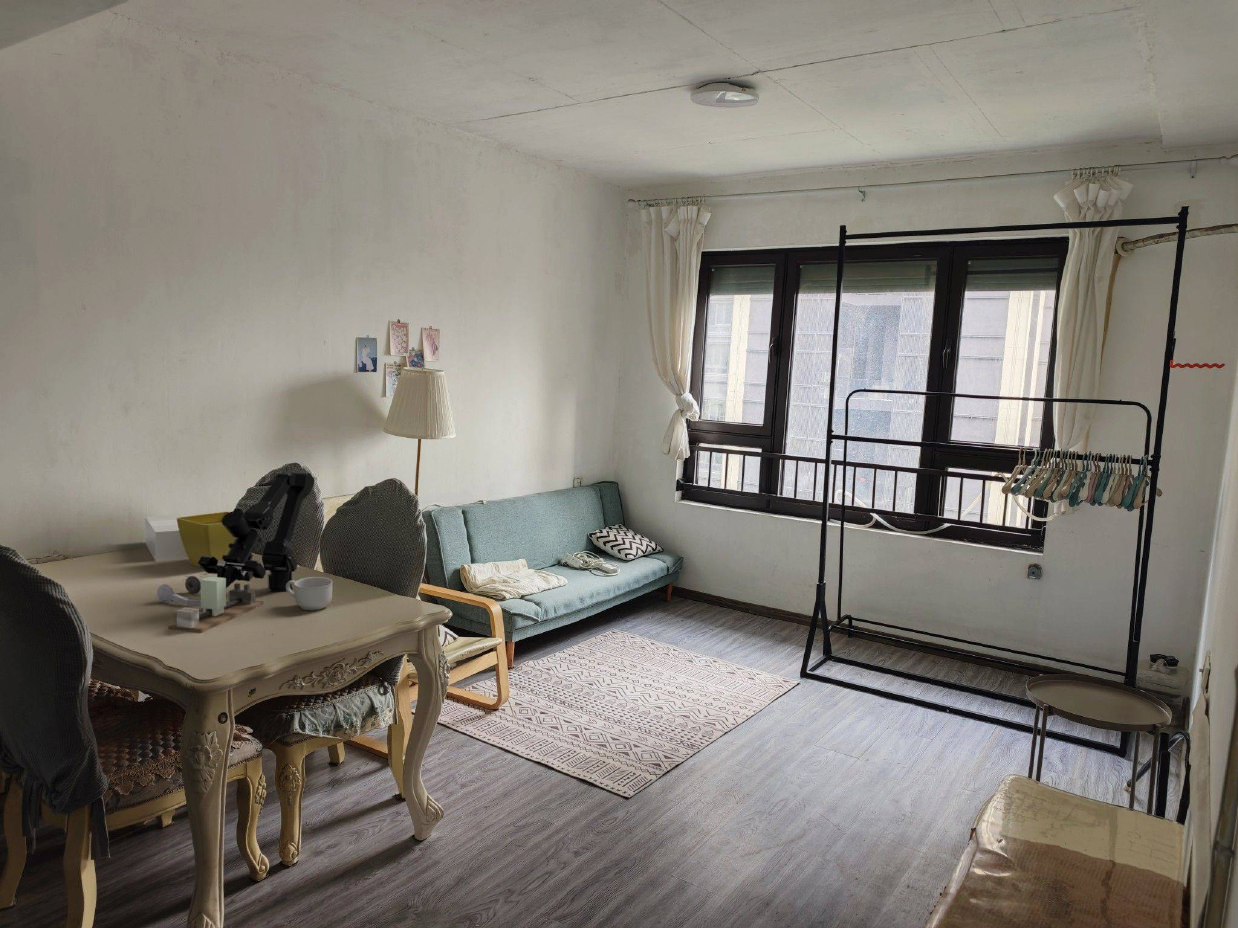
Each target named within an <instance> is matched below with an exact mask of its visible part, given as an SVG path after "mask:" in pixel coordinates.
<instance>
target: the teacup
mask: <svg viewBox="0 0 1238 928" xmlns="http://www.w3.org/2000/svg"><path fill="white" fill-rule="evenodd" d="M290 584H292V586H294V590H291V589H290ZM286 590H287V591H286V592H287V593H288V594H289V595H290V596H291V597H293V598H294V600H295V604H297V605H298V606H299V607H300V608H301V609H303V610H306V611H317V610H322V609H324V608H325V607H326V606H327V605H329V604H330V603H331V601H332V597H333V579H331V578H328V577H324V576H323V577H321V576H310V577H303V578H300V579H298V580H293V579H292V580H291V581H289V582H288V583H287V584H286Z"/></svg>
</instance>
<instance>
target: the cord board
mask: <svg viewBox="0 0 1238 928" xmlns="http://www.w3.org/2000/svg"><path fill="white" fill-rule="evenodd" d="M228 592H229V593H228V596H229V597H228V599H229V600H226V606H224V613H221V614H219V615H217V616H212V609H211V610H209V611H207V612H204V613H203V610H202V611H200V609H199V608H192V607H183V608H180V609H178V610H176V621H175V622H173V623H170V624H168V625H167V629H168V630H174V631H180V632H181V631H183V632H192V633H199V634H200V633H204V632H206V631H208V630H210V629H213V628H215V627H218V626H219V625H222V624H223V623H226V622H229V621H230V619H231V620H232V619H235V618H237V617H239V616H241V615H244V614H246V613H248V612H250V610H251V611H253V610H255V609H257V608H260V607H261V606H264V601H263V600H256V592H255V590H251V584H249V583H248V584H243V589H241V583H238V582H236V583H234V584H233V589H230V590H229V591H228ZM256 607H257V608H256ZM243 613H244V614H243Z"/></svg>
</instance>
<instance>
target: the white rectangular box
mask: <svg viewBox="0 0 1238 928" xmlns="http://www.w3.org/2000/svg"><path fill="white" fill-rule="evenodd" d="M178 517H179V516H178V515H177V514H164V515H148V516H144V526H145V527H144V531H145V533H144V534H145V536H144V538H145V546H146V547H147V549H148V550H149V552H150V554H151V555H152V557H153V559H154V560H155V562H165V561H175V560H177V561H178V560H187V559H188V560H189V558H188V556H187V553H186V551H185V548H184V545H183V542H182V539H181V536H180V532H179V528H178V523H177V518H178Z"/></svg>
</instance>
